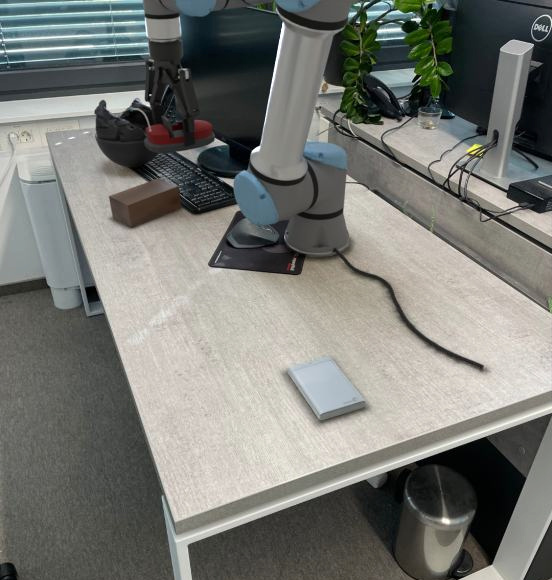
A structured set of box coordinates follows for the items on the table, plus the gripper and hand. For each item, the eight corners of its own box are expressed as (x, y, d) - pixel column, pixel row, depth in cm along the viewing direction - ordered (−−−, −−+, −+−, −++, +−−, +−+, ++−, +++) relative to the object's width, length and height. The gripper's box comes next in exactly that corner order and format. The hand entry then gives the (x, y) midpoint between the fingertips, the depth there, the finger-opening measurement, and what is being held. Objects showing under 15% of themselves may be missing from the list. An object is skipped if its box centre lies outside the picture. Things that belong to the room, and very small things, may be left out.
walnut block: (181, 207, 153) (178, 185, 149) (131, 227, 144) (127, 205, 140) (162, 199, 157) (159, 177, 154) (112, 218, 148) (108, 196, 144)
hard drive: (365, 400, 92) (330, 354, 101) (319, 414, 90) (287, 366, 99) (364, 407, 93) (329, 362, 102) (319, 421, 91) (287, 374, 100)
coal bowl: (180, 161, 179) (174, 97, 168) (136, 182, 166) (125, 115, 154) (133, 149, 188) (123, 88, 176) (87, 169, 174) (73, 104, 163)
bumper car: (221, 144, 142) (218, 102, 136) (142, 158, 135) (136, 114, 128) (205, 132, 149) (202, 91, 143) (129, 145, 141) (123, 102, 135)
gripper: (212, 44, 123) (218, 147, 137) (147, 28, 136) (158, 124, 149) (184, 49, 119) (193, 155, 132) (120, 33, 131) (134, 131, 145)
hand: (175, 139), depth 141 cm, fingers closed on bumper car, 11 cm apart
